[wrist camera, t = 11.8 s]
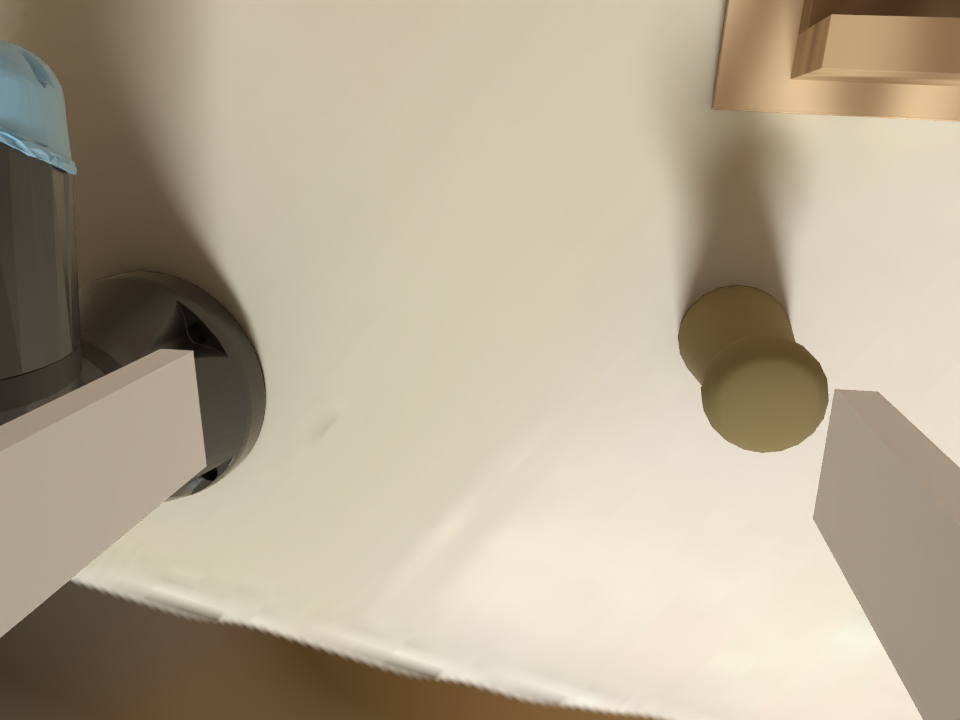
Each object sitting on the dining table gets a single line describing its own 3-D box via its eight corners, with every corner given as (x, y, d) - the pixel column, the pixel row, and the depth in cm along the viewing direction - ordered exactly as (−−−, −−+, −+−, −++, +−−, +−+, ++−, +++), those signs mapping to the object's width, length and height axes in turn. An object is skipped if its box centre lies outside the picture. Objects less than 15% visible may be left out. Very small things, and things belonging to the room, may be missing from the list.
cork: (725, 263, 39) (761, 308, 29) (815, 327, 39) (883, 395, 29) (656, 348, 41) (665, 418, 31) (741, 409, 41) (779, 499, 31)
